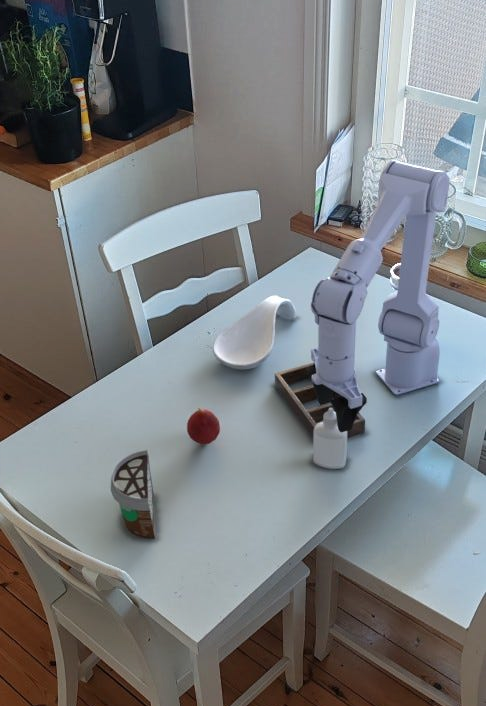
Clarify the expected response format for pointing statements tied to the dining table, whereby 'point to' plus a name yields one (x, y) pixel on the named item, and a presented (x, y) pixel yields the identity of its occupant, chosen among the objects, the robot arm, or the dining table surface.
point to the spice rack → (308, 394)
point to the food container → (135, 494)
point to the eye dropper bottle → (329, 443)
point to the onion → (203, 426)
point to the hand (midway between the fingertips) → (334, 416)
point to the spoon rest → (252, 334)
